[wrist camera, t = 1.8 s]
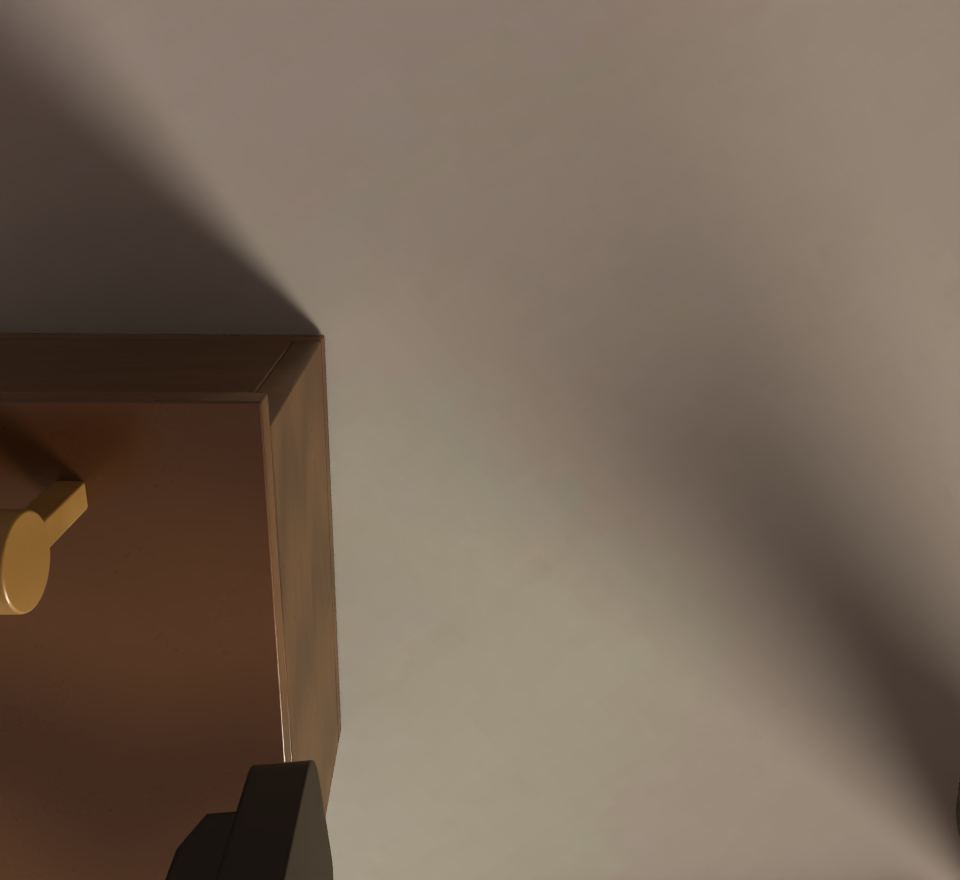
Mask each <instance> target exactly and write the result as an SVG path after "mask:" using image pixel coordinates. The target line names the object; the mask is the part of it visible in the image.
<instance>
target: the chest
mask: <svg viewBox="0 0 960 880" xmlns="http://www.w3.org/2000/svg"><path fill="white" fill-rule="evenodd" d="M0 392H248V393H267V395H268V406H269V422H270V437H271V453H272V468H273V484H274V500H275V515H276V531H277V546H278V562H279V577H280V593H281V608H282V624H283V639H284V655H285V670H286V686H287V701H288V717H289V732H290V748H291V762H294V761H306V760H314V762H315V763H316V766H317V770H318V774H319V780H320V787H321V793H322V799H323V806H324V812H325V817H326V811H327V806H328V800H329V794H330V788H331V783H332V777H333V771H334V766H335V760H336V754H337V749H338V742H339V738H340V732H341V715H340V691H339V668H338V644H337V621H336V597H335V573H334V550H333V526H332V502H331V479H330V455H329V432H328V408H327V384H326V361H325V337H324V335H226V334H64V333H0Z"/></svg>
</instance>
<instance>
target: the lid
mask: <svg viewBox="0 0 960 880" xmlns="http://www.w3.org/2000/svg"><path fill="white" fill-rule="evenodd" d="M282 762H291V748H290V732H289V717H288V701H287V686H286V670H285V655H284V639H283V624H282V608H281V593H280V577H279V562H278V546H277V531H276V515H275V500H274V484H273V468H272V453H271V437H270V422H269V406H268V395H267V393H248V392H0V880H165V879H166V876H167V873H168V871H169V868H170V865H171V862H172V860H173V857H174V854H175V852H176V849H177V848H178V847H179V845H180V844H181V843H182V842H183V841H184V840H185V838H186V837H187V836H188V835H189V834H190V833H191V832H192V830H193V829H194V828H195V827H196V826H197V825H198V823H199V822H200V821H201V820H202V819H203V818H204V816H205V815H206V814H211V813H223V812H235V811H236V810H237V807H238V804H239V800H240V797H241V794H242V791H243V787H244V784H245V781H246V778H247V774H248V772H249V770H250V768H251V767H252V765H258V764H270V763H282Z"/></svg>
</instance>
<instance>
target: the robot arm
mask: <svg viewBox="0 0 960 880" xmlns="http://www.w3.org/2000/svg"><path fill="white" fill-rule="evenodd" d="M956 819H957V826H958V830H959V834H960V780H959V788H958V796H957V804H956ZM165 880H333V866H332V857H331V850H330V844H329V838H328V831H327V825H326V818H325V812H324V806H323V799H322V793H321V787H320V780H319V774H318V770H317V766H316V763H315V762H314V760H306V761H294V762H282V763H270V764H258V765H252V767H251V768H250V770H249V772H248V774H247V778H246V781H245V784H244V787H243V791H242V794H241V797H240V800H239V804H238V807H237V810H236V811H235V812H223V813H211V814H206V815H205V816H204V818H203V819H202V820H201V821H200V822H199V823H198V825H197V826H196V827H195V828H194V829H193V830H192V832H191V833H190V834H189V835H188V836H187V837H186V838H185V840H184V841H183V842H182V843H181V844H180V845H179V847H178V848H177V849H176V852H175V854H174V857H173V860H172V862H171V865H170V868H169V871H168V873H167V876H166V879H165Z"/></svg>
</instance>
